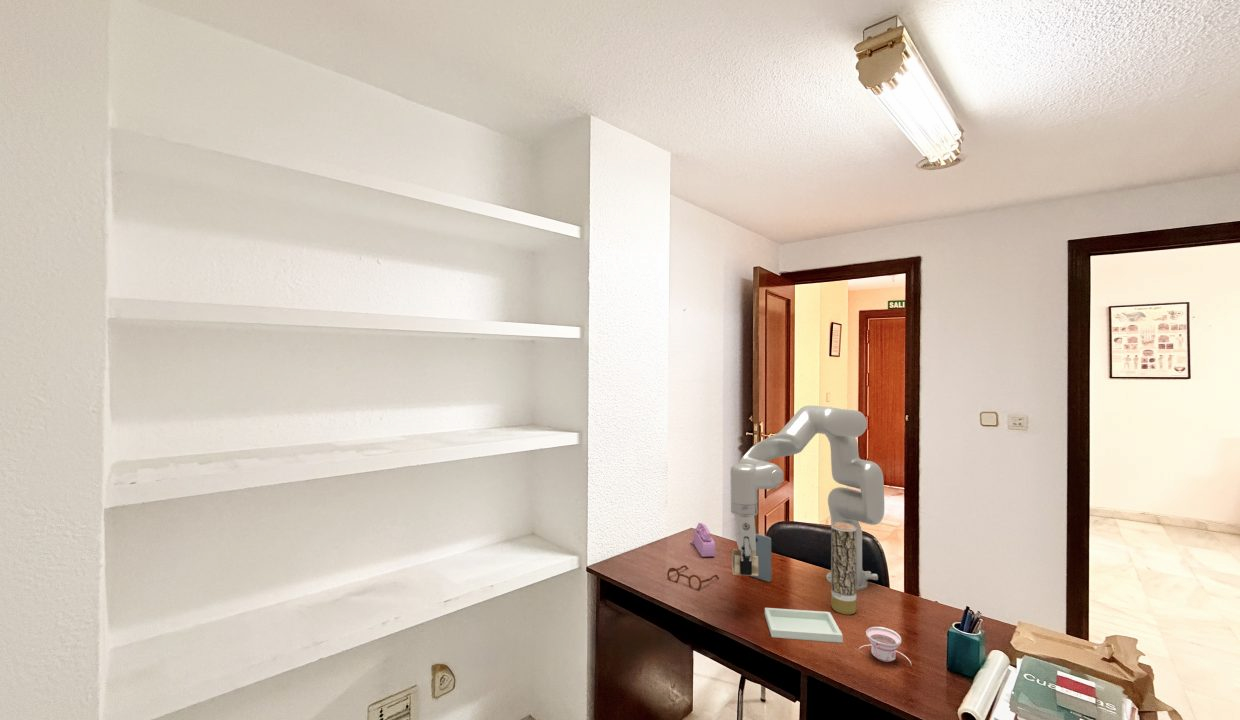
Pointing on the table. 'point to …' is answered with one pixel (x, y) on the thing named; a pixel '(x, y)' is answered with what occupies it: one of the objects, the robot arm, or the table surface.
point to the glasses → (688, 577)
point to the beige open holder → (736, 562)
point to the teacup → (883, 643)
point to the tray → (803, 625)
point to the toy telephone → (704, 541)
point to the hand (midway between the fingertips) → (744, 569)
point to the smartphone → (763, 557)
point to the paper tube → (843, 568)
